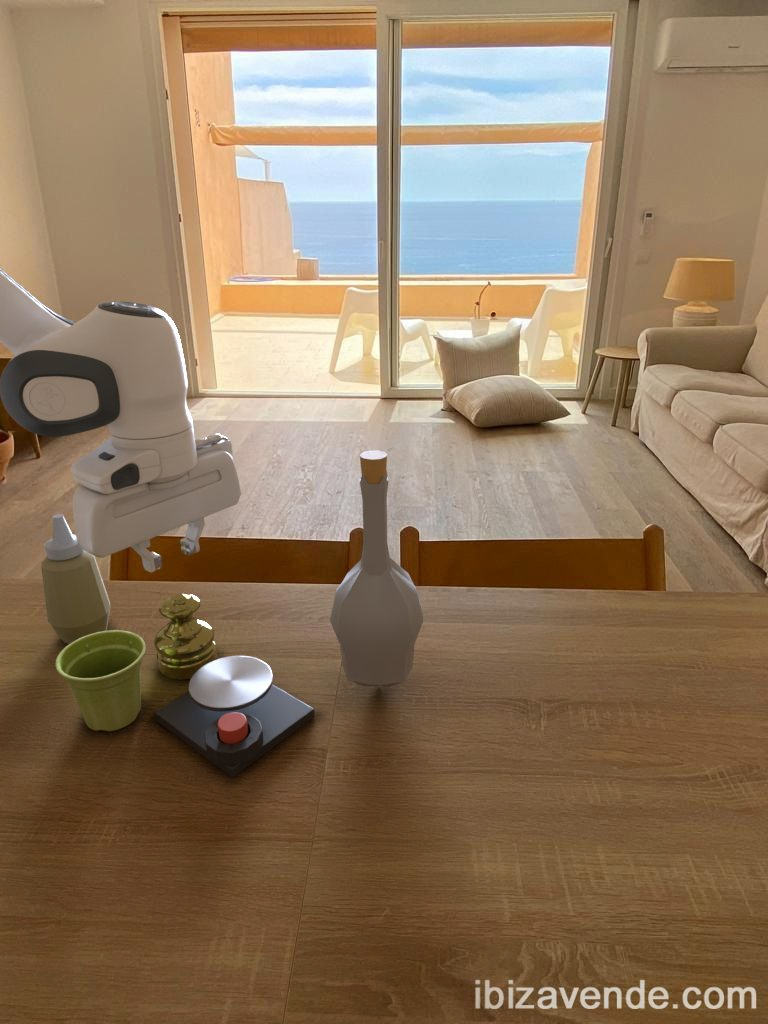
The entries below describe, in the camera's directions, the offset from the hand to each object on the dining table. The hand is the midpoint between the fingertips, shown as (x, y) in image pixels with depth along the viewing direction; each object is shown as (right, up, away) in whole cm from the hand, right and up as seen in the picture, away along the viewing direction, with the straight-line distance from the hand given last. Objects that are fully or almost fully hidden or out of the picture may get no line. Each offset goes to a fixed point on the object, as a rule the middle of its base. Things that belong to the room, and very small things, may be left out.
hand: (172, 560), depth 84 cm
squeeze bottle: (-16, -11, +13) cm, 23 cm away
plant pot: (-6, -18, -3) cm, 19 cm away
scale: (+8, -18, -3) cm, 20 cm away
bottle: (+25, -16, +2) cm, 29 cm away
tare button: (+9, -18, -10) cm, 22 cm away
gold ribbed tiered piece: (0, -14, +6) cm, 15 cm away
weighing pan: (+8, -14, -3) cm, 16 cm away
